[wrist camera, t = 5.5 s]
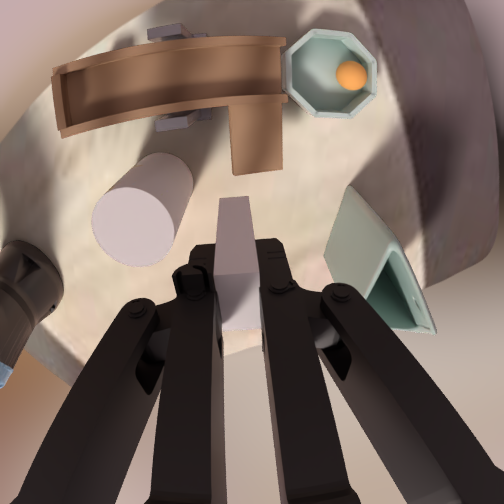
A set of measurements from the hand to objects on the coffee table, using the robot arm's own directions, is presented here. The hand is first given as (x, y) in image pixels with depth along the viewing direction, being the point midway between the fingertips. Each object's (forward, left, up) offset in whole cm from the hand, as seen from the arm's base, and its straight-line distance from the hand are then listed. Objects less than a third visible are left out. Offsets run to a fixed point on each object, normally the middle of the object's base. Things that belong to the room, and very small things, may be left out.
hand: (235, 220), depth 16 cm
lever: (-5, +5, -12) cm, 14 cm away
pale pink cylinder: (-10, -4, -20) cm, 23 cm away
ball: (+13, +8, -18) cm, 23 cm away
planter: (+15, -15, -20) cm, 29 cm away
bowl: (+10, +8, -20) cm, 24 cm away
